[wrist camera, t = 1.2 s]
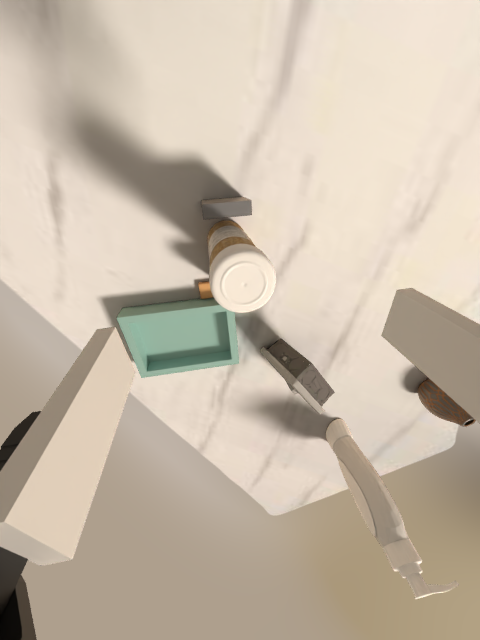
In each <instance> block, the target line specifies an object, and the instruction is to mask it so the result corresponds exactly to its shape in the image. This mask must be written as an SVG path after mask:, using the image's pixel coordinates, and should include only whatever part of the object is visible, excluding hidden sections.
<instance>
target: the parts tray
mask: <svg viewBox="0 0 480 640" xmlns="http://www.w3.org/2000/svg"><path fill="white" fill-rule="evenodd" d="M117 321H118V323H119V325H120V328H121V330H122V332H123V335H124V337H125V340H126V342H127V344H128V347H129V349H130V352H131V354H132V356H133V359H134V361H135V364H136V366H137V368H138V371H139V373H140V375H141V378H144V377H151V376H158V375H164V374H171V373H178V372H185V371H192V370H198V369H205V368H212V367H219V366H225V365H232V364H239V356H238V345H237V334H236V323H235V312H232V311H229V310H227V309H225V308H223V307H222V306H221V305H220V304H218V303H217V301H216V300H215V298H205V299H201V298H200V299H192V300H184V301H176V302H167V303H159V304H151V305H143V306H134V307H126V308H122V310H121V311H120V313H119V315H118V316H117Z"/></svg>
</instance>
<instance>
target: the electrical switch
mask: <svg viewBox="0 0 480 640" xmlns="http://www.w3.org/2000/svg"><path fill="white" fill-rule="evenodd" d="M260 352H261V353H262V355H263V356H264V357H265V358H266V359H267V360H268V361H269V362H270V364H271V365H272V366H273V367H274V368H275V369H276V370H277V372H278V373H279V374H280V375H281V376H282V377H283V378H284V379H285V381H286V382H287V384H288V386H289V388H290V390H291V391H292V392H293V393H294V394H297V393H299V394H300V395H301V396H302V397H303V398H304V399H305V400H306V401H307V402H308V404H309V405H310V406H311V407H312V408H313V409H315V410H316V411H317V412H318V413H319V414H320V415H321V414H322V413H323V412H325V410H324V409H323V408H322V405H323V404H324V403H325V402H326V401H327V400H328V398H329V397H330V396H331V395H332V394H333V393H335V392H334V391H333V390H332V388H331V387H330V386H329V384H328V383H327V382H326V381H325V379H324V378H323V377H322V375H321V374H320V373H319V372H318V370H317V369H316V368H315V367H314V365H313V364H312V363H311V362H310V361H309V360H307V359H306V358H305V357H303V356H302V355H301V354H300V353H298V352H297V351H296V350H295V349H293V348H292V347H291V346H290V345H288V344H287V343H286V342H285V341H283V340H282V339H279V340H278V341H277V342H276V343H275V344H274V345H272V346H271V347H270V348H269V349H267V350H266V349H265V348H264V347H263V348H262V349H261V350H260ZM303 361H304V362H303ZM310 363H311V364H310ZM309 364H310V365H309Z"/></svg>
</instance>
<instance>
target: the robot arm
mask: <svg viewBox="0 0 480 640" xmlns="http://www.w3.org/2000/svg"><path fill="white" fill-rule="evenodd" d="M381 336H382V337H384V338H385V339H386V340H387V341H388V342H389V343H390V344H391V345H392V346H394V347H395V348H396V349H397V350H398V351H399V352H400V353H401V354H403V355H404V356H405V357H406V358H407V359H408V360H409V361H410V362H411V363H413V364H414V365H415V366H416V367H417V368H418V369H419V370H420V371H422V372H423V373H424V374H425V375H426V376H427V377H428V378H429V379H430V380H432V381H433V382H434V383H435V384H436V385H437V386H438V387H439V388H441V389H442V390H443V391H444V392H445V393H446V394H447V395H448V396H449V397H451V398H452V399H453V400H454V401H455V402H456V403H457V404H458V405H460V406H461V407H462V408H463V409H464V410H465V411H466V412H467V413H468V414H470V415H471V416H472V417H473V418H474V419H475V420H476V421H478V422H479V423H480V324H478V323H476V322H474V321H472V320H470V319H469V318H467V317H465V316H463V315H461V314H459V313H457V312H456V311H454V310H452V309H450V308H448V307H446V306H444V305H443V304H441V303H439V302H437V301H435V300H433V299H431V298H430V297H428V296H426V295H424V294H422V293H420V292H418V291H417V290H415V289H413V288H408V289H400V290H397V291H396V294H395V297H394V300H393V303H392V306H391V309H390V312H389V315H388V318H387V321H386V324H385V327H384V330H383V332H382V335H381ZM135 373H136V371H135V369H134V367H133V365H132V363H131V360H130V358H129V356H128V354H127V351H126V349H125V347H124V345H123V343H122V340H121V338H120V336H119V334H118V331H117V329H116V327H111V328H103V329H97V330H96V332H95V333H94V335H93V336H92V338H91V339H90V341H89V342H88V344H87V345H86V346H85V348H84V349H83V351H82V352H81V354H80V355H79V357H78V358H77V360H76V361H75V363H74V364H73V366H72V367H71V369H70V370H69V372H68V373H67V374H66V376H65V377H64V379H63V380H62V382H61V383H60V385H59V386H58V388H57V389H56V391H55V392H54V393H53V395H52V396H51V398H50V399H49V401H48V402H47V404H46V405H45V407H44V408H43V410H42V411H38V412H32V413H31V414H30V415H29V416H28V417H27V418H26V419H24V420H23V421H22V422H21V423H20V424H19V425H18V426H17V427H16V428H14V430H13V431H12V432H11V434H10V435H9V436H8V438H7V439H6V441H5V442H4V443H3V445H2V446H1V450H0V640H36V634H35V629H34V624H33V619H32V614H31V608H30V603H29V598H28V592H27V587H26V583H25V581H24V579H23V578H22V576H21V573H22V571H23V569H24V566H25V565H26V562H27V560H28V561H31V562H33V563H35V564H38V565H40V566H43V565H48V564H53V563H58V562H62V561H66V560H72V559H73V556H74V553H75V550H76V547H77V544H78V541H79V538H80V535H81V533H82V529H83V526H84V524H85V521H86V518H87V515H88V512H89V509H90V506H91V503H92V500H93V497H94V494H95V491H96V488H97V485H98V482H99V479H100V476H101V473H102V470H103V467H104V464H105V461H106V459H107V456H108V452H109V450H110V447H111V443H112V441H113V438H114V435H115V432H116V429H117V426H118V423H119V420H120V417H121V414H122V411H123V408H124V405H125V402H126V399H127V396H128V393H129V390H130V387H131V385H132V382H133V379H134V376H135Z"/></svg>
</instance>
